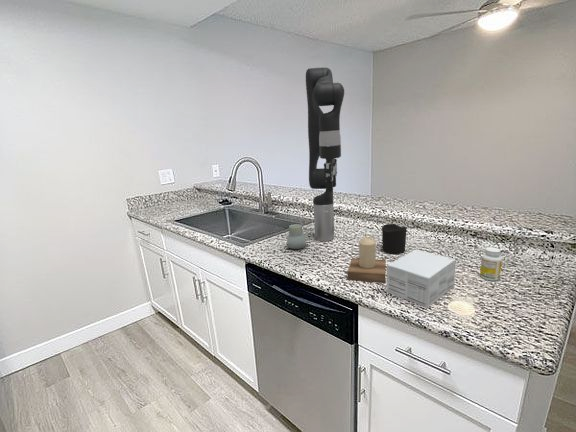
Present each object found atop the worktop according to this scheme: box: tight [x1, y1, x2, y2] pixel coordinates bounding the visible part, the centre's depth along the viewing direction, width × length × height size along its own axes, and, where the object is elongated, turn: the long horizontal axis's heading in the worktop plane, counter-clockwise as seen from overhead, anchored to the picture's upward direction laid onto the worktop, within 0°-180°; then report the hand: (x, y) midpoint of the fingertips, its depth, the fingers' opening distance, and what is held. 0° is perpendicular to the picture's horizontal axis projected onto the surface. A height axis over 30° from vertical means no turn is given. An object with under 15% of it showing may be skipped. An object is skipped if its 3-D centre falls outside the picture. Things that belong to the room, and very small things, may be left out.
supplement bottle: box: [479, 246, 503, 282], centre depth 97 cm, size 5×5×10 cm
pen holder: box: [381, 223, 408, 255], centre depth 124 cm, size 9×9×10 cm
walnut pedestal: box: [347, 257, 387, 284], centre depth 106 cm, size 12×12×3 cm
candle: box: [358, 236, 377, 268], centre depth 104 cm, size 6×6×10 cm
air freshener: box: [286, 223, 307, 250], centre depth 135 cm, size 11×8×10 cm
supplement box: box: [386, 249, 457, 308], centre depth 92 cm, size 17×13×9 cm
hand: (331, 189), depth 112 cm, fingers open, 8 cm apart
